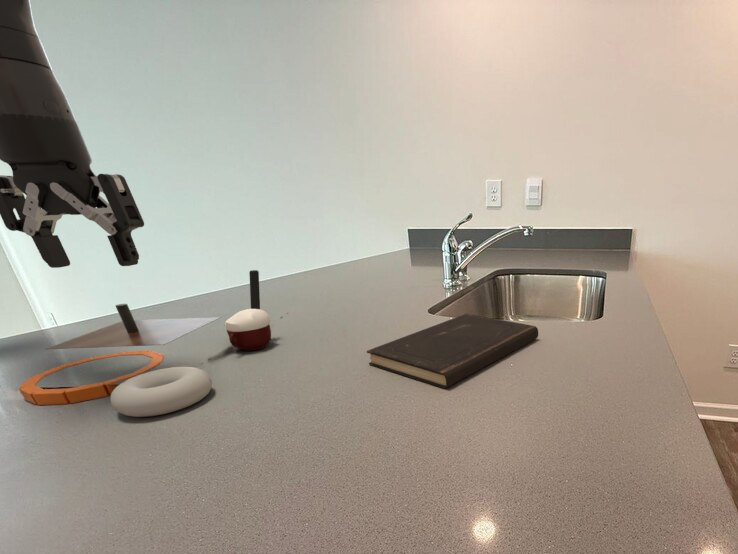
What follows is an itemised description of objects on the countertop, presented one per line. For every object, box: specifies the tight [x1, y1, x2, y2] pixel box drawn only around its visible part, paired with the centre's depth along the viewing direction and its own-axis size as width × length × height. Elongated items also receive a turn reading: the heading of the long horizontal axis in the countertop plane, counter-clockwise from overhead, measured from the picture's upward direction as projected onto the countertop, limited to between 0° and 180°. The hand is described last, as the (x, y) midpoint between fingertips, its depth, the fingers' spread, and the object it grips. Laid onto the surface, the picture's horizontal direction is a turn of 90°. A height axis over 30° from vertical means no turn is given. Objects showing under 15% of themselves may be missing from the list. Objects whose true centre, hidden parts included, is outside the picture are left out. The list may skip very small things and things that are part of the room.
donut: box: [110, 366, 213, 418], centre depth 51 cm, size 10×4×10 cm
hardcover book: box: [366, 313, 539, 389], centre depth 65 cm, size 16×23×2 cm
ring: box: [18, 350, 165, 406], centre depth 58 cm, size 15×15×2 cm
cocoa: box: [224, 269, 272, 352], centre depth 67 cm, size 10×6×12 cm, turn 153°
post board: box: [45, 303, 222, 350], centre depth 73 cm, size 19×16×6 cm
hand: (95, 266), depth 52 cm, fingers open, 8 cm apart
